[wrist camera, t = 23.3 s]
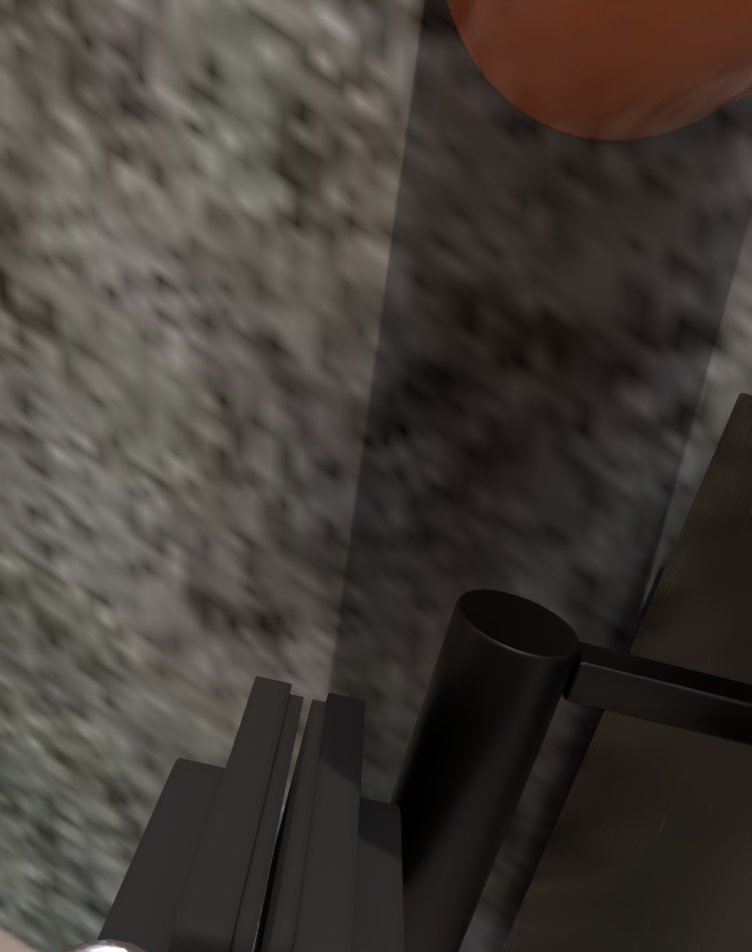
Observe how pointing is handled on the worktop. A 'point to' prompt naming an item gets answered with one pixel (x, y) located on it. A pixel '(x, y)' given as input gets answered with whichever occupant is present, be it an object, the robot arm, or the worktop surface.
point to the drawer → (600, 754)
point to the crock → (611, 60)
